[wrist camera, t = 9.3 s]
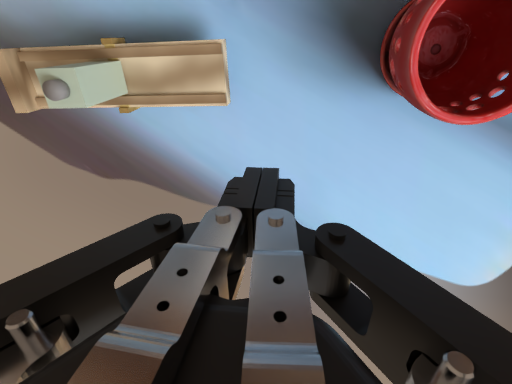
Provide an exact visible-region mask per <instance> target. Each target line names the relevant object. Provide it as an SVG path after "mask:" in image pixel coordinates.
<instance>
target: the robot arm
mask: <svg viewBox="0 0 512 384" xmlns="http://www.w3.org/2000/svg"><path fill="white" fill-rule="evenodd" d="M247 257H252V268H251V282H250V293H249V298H246V299H238V300H236V298H237V295H238V292H239V288H240V285H241V282H242V278H243V275H244V271H245V269H244V265H245V262H246V258H247ZM149 258H150V260H151V264H152V268H153V269H151V270H149V271H147V272H146V273H144V274H142V275H140V276H139V277H137V278H135V279H133V280H132V281H130V282H128V283H126V284H124V285H123V286H121V287H119V288H117V289H115V288H114V282H115V280H116V278H117V277H118V276H119V275H120V274H121V273H123V272H125V271H126V270H128V269H130V268H132V267H134V266H136V265H138V264H139V263H141V262H143V261H145V260H147V259H149ZM351 281H352V282H353V283H354V284H355V285H357V286H358V287H359V288H360V289H361V290H363V291H364V292H365V293H366V294H367V295H368V296H369V298H368V297H367V296H366V295H365V294H363V293H362V292H361V291H360V290H359V289H358V288H356V287H355V286H354V285H353V284H352V283H351ZM309 291H310V296H311V298H312V300H313V301H314V302H315V303H316V304H317V305H318V306H319V307H320V308H321V309H322V310H323V311H324V312H325V313H326V314H327V315H328V316H329V317H330V318H331V320H332V321H333V322H334V323H335V324H336V325H337V326H338V327H339V328H340V329H341V330H342V331H343V332H344V333H345V334H346V335H347V336H348V337H349V338H350V339H351V340H352V341H353V342H354V343H355V344H356V346H357V347H358V348H359V349H360V350H361V351H362V352H363V353H364V354H365V355H366V356H367V357H368V358H369V359H370V360H371V361H372V362H373V363H374V364H375V365H376V366H377V367H378V368H379V369H380V370H381V371H382V373H384V375H386V377H387V378H388V379H389V380H390V381H391V382H392V383H393V384H512V333H510V332H509V331H508V330H506V329H505V328H503V327H501V326H500V325H498V324H497V323H495V322H494V321H492V320H491V319H489V318H488V317H486V316H485V315H483V314H481V313H480V312H479V311H477V310H475V309H474V308H473V307H471V306H470V305H468V304H467V303H465V302H463V301H462V300H460V299H459V298H457V297H456V296H454V295H453V294H451V293H450V292H448V291H447V290H445V289H444V288H442V287H441V286H439V285H437V284H436V283H435V282H433V281H431V280H430V279H428V278H427V277H425V276H424V275H422V274H421V273H419V272H418V271H416V270H415V269H413V268H412V267H410V266H409V265H407V264H406V263H404V262H403V261H401V260H399V259H398V258H396V257H395V256H393V255H392V254H390V253H389V252H387V251H386V250H384V249H383V248H381V247H380V246H378V245H377V244H375V243H374V242H372V241H371V240H369V239H367V238H366V237H364V236H363V235H361V234H360V233H358V232H357V231H355V230H354V229H352V228H351V227H349V226H347V225H344V224H340V223H326V224H323V225H321V226H319V227H318V228H317V230H316V231H315V230H311V229H308V228H306V227H303V226H302V225H300V224H299V223H298V222H297V221H296V219H295V216H294V183H293V182H292V181H291V180H290V179H279V168H263V169H262V168H255V167H247V168H246V170H245V173H244V176H243V177H234V178H233V179H232V180H230V181H229V182H228V184H227V186H226V189H225V191H224V194H223V195H222V197H221V200H220V202H219V204H218V207H215V208H213V209H211V210H209V211H208V212H207V213H206V214H205V215H204V217H203V219H202V220H201V222H196V223H190V224H183V223H182V219H181V217H180V216H178V215H175V214H169V213H168V214H160V215H156V216H153V217H151V218H149V219H147V220H144V221H142V222H140V223H138V224H135V225H133V226H131V227H129V228H126V229H124V230H122V231H120V232H117V233H115V234H113V235H111V236H109V237H106V238H104V239H102V240H99V241H97V242H95V243H93V244H90V245H88V246H86V247H84V248H81V249H79V250H77V251H75V252H72V253H70V254H68V255H65V256H63V257H61V258H59V259H56V260H54V261H52V262H50V263H47V264H45V265H43V266H41V267H39V268H36V269H34V270H32V271H29V272H27V273H25V274H23V275H20V276H18V277H16V278H14V279H11V280H9V281H7V282H5V283H2V284H0V384H382V383H381V381H380V380H379V379H378V378H377V377H376V376H375V375H374V374H373V372H372V371H371V370H370V369H369V368H368V367H367V366H366V365H365V363H364V362H363V361H362V360H361V359H360V358H359V357H358V356H357V354H356V353H355V352H354V351H353V350H352V349H351V348H350V346H349V345H348V344H347V343H346V342H345V341H344V340H343V339H342V337H341V336H340V335H339V334H338V333H337V332H336V331H335V330H334V329H333V328H332V327H331V326H330V325H328V324H327V323H326V322H324V321H323V320H322V319H320V318H318V317H317V316H315V315H313V314H312V310H311V303H310V297H309Z"/></svg>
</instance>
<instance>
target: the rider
mask: <svg viewBox="0 0 512 384" xmlns="http://www.w3.org/2000/svg"><path fill="white" fill-rule="evenodd" d="M35 72H36V75H37V77H38V80H39V83H40V85H41V88H42V91H43V93H44V96H45V99H46V101H47V104H48V106H49V108H88V107H91V106H94V105H96V104H99V103H102V102H105V101H108V100H110V99H113V98H116V97H119V96H122V95H124V94H127V93H128V90H127V86H126V82H125V78H124V74H123V69H122V65H121V61H94V62H82V63H75V64H67V65H60V66H52V67H45V68H37V69H35Z"/></svg>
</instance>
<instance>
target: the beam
mask: <svg viewBox="0 0 512 384" xmlns="http://www.w3.org/2000/svg"><path fill="white" fill-rule="evenodd" d="M101 43H102V44H101V45H78V46H55V47H31V48H10V49H0V77H1V79H2V82H3V84H4V86H5V88H6V91H7V93H8V95H9V98H10V100H11V102H12V105H13V107H14V109H15V111H16V113H29V112H32V111H36V110H39V109H43V108H49V106H48V104H47V101H46V99H45V96H44V93H43V91H42V88H41V85H40V83H39V80H38V77H37V75H36V72H35V69H37V68H45V67H52V66H60V65H67V64H75V63H82V62H94V61H121V65H122V69H123V74H124V78H125V82H126V86H127V90H128V93H127V94H124V95H122V96H119V97H116V98H113V99H110V100H108V101H105V102H102V103H99V104H96V105H94V106H91V107H88V108H105V107H120V108H119V111H120V113H130V112H132V111H134V110H136V109H138V108H140V107H171V106H227V105H228V104H229V103H230V90H229V77H228V65H227V52H226V39H218V40H194V41H171V42H148V43H125V38H101Z"/></svg>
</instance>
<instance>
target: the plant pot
mask: <svg viewBox="0 0 512 384" xmlns="http://www.w3.org/2000/svg"><path fill="white" fill-rule="evenodd" d="M380 65H381V70H382V73H383V76H384V78H385V80H386V82H387V83H388V85H389V86H390V87H391V88H392V89H393V90H394V91H395V92H396V93H398V94H399V95H401V96H403V97H404V98H405V99H406V100H407V101H408V102H409V103H411V104H412V105H413V106H414V107H416V108H417V109H419V110H420V111H422V112H424V113H425V114H427V115H429V116H431V117H433V118H436V119H438V120H441V121H444V122H447V123H452V124H458V125H472V124H479V123H484V122H488V121H492V120H494V119H497V118H500V117H502V116H505V115H507V114H509V113H511V112H512V0H411V1H410V2H408V3H407V4H406V5H405V6H404V7H403V8H402V9H401V10H400V11H399V12H398V14H397V15H396V16H395V17H394V19H393V20H392V22H391V24H390V25H389V27H388V29H387V31H386V33H385V36H384V39H383V42H382V46H381V53H380ZM507 73H509V75H508V76H507V77H506V78H505V79H503V80H501V81H500V79H501V77H502V76H504V75H505V74H507ZM500 90H505V91H504V92H503V93H502V94H501V95H499V96H497V97H494V98H490V97H491V96H492V95H493V94H495V93H496V92H498V91H500ZM477 97H481V98H479V99H477V100H474V101H471V100H472V99H474V98H477ZM477 108H479V109H477ZM473 109H475V110H473Z"/></svg>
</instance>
